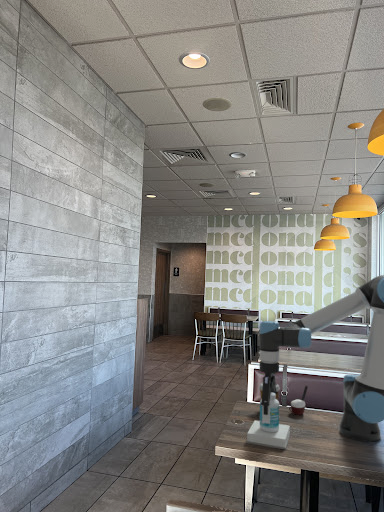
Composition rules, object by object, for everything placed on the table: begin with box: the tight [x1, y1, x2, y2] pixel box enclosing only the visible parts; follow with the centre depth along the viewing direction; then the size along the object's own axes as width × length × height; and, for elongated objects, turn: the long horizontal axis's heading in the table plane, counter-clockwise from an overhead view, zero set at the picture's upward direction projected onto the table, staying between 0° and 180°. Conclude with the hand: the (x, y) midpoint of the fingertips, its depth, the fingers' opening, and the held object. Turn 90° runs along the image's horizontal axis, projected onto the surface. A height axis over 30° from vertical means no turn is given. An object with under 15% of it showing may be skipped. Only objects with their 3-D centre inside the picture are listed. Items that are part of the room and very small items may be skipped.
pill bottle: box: [259, 392, 280, 432], centre depth 146 cm, size 8×7×14 cm
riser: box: [246, 420, 291, 450], centre depth 146 cm, size 14×14×4 cm
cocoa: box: [288, 385, 309, 416], centre depth 174 cm, size 10×6×12 cm, turn 86°
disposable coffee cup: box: [258, 382, 281, 401], centre depth 177 cm, size 10×10×12 cm
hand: (269, 416), depth 146 cm, fingers open, 13 cm apart
